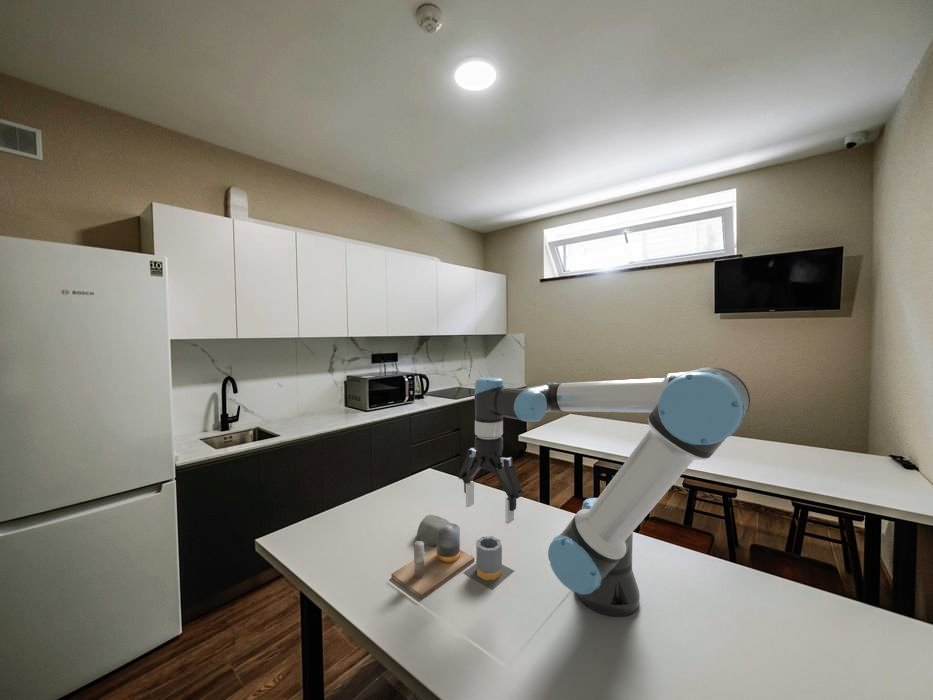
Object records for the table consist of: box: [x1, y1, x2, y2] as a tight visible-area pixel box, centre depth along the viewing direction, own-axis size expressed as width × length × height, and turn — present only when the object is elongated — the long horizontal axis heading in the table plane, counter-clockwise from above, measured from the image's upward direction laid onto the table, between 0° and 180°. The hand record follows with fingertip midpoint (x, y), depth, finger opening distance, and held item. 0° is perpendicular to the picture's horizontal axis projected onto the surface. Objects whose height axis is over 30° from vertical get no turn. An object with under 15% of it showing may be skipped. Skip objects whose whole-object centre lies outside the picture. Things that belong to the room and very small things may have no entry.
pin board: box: [391, 522, 475, 600], centre depth 101 cm, size 12×20×10 cm, turn 139°
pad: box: [463, 563, 515, 591], centre depth 100 cm, size 10×10×1 cm
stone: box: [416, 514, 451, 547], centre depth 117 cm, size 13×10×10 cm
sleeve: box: [475, 535, 503, 580], centre depth 100 cm, size 7×7×8 cm
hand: (488, 513), depth 99 cm, fingers open, 13 cm apart
